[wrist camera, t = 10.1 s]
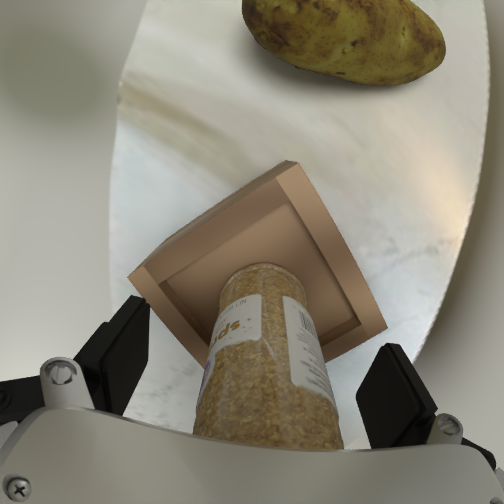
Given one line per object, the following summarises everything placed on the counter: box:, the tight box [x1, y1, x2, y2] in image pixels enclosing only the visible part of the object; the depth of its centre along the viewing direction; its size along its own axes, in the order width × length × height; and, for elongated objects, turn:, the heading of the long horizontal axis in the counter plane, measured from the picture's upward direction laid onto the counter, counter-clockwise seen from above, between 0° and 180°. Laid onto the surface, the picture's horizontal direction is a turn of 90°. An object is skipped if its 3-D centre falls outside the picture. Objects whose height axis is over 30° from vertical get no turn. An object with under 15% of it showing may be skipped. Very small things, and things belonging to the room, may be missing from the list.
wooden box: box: [127, 160, 388, 369], centre depth 18 cm, size 10×10×7 cm
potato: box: [242, 0, 446, 85], centre depth 12 cm, size 8×13×8 cm, turn 72°
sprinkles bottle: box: [193, 263, 344, 450], centre depth 9 cm, size 5×5×14 cm
